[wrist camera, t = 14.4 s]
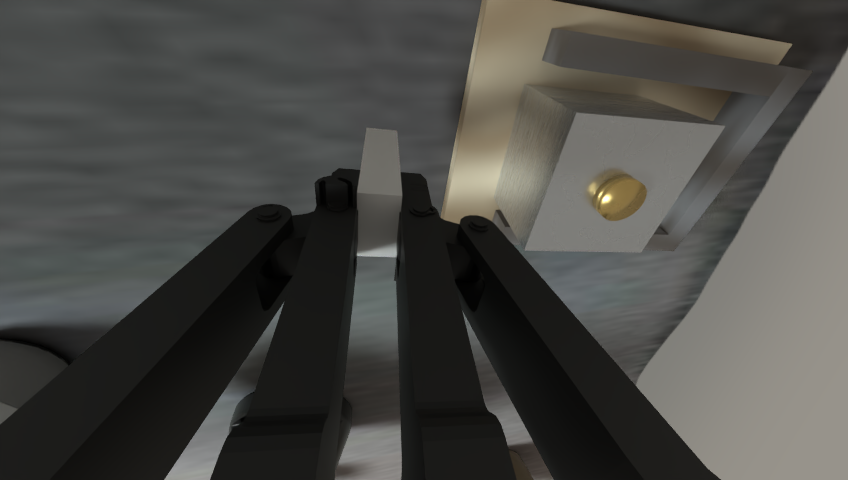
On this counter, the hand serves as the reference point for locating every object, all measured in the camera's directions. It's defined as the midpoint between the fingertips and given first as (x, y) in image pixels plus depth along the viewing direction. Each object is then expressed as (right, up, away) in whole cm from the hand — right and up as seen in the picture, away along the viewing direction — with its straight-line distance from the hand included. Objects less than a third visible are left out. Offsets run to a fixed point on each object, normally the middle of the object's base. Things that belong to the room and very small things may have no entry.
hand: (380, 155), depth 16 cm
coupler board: (+14, +3, +7) cm, 16 cm away
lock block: (+12, +2, +6) cm, 14 cm away
